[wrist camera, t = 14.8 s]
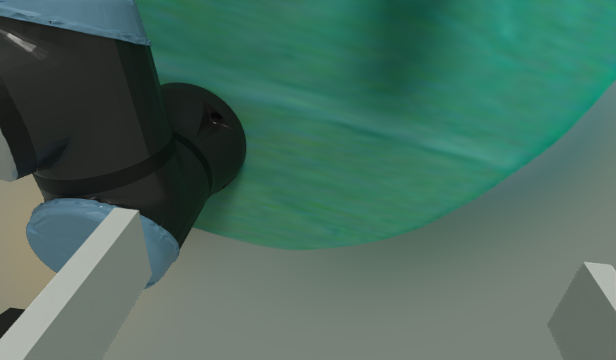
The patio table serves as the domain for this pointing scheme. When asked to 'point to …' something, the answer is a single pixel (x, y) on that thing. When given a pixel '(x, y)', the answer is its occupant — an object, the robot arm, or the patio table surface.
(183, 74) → the patio table surface
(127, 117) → the robot arm
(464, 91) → the patio table surface
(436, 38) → the patio table surface
